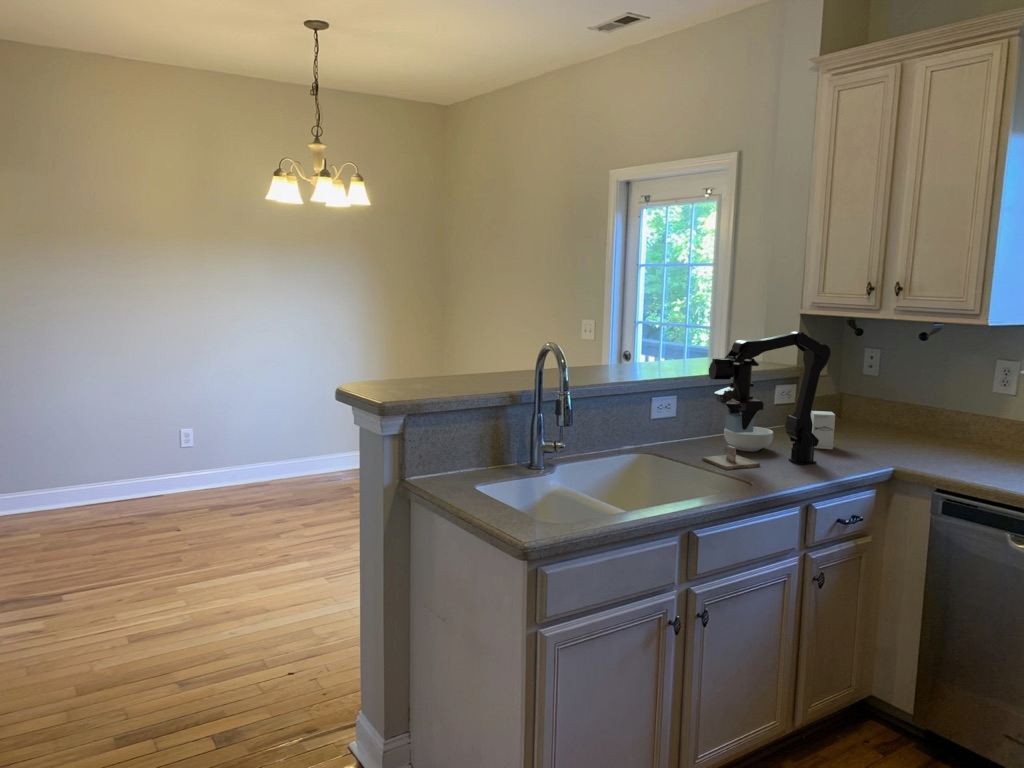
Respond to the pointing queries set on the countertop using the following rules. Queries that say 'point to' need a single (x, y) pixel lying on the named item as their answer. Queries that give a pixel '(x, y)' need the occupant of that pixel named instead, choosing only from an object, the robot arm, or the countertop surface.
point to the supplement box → (823, 428)
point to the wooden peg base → (731, 460)
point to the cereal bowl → (749, 439)
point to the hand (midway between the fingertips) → (739, 427)
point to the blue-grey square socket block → (737, 423)
